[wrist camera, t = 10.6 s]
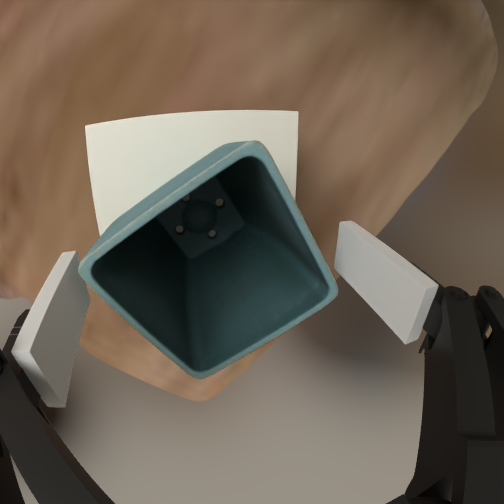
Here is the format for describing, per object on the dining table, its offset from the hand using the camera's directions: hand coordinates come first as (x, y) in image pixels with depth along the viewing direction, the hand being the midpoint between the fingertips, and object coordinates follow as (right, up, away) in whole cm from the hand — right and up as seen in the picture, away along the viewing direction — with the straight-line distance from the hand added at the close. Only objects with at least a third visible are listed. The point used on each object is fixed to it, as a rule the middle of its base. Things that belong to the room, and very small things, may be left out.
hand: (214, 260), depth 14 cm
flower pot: (-2, +3, +6) cm, 7 cm away
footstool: (-4, +6, +13) cm, 15 cm away
